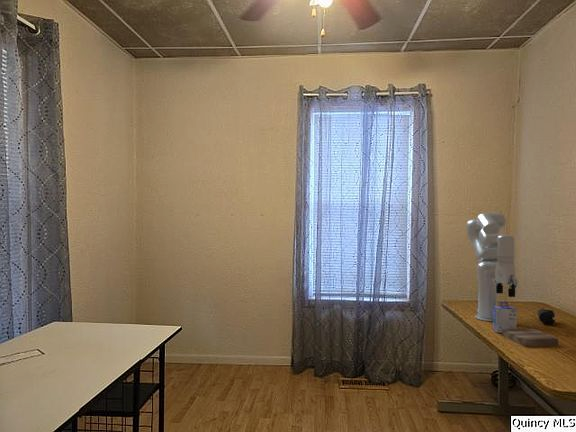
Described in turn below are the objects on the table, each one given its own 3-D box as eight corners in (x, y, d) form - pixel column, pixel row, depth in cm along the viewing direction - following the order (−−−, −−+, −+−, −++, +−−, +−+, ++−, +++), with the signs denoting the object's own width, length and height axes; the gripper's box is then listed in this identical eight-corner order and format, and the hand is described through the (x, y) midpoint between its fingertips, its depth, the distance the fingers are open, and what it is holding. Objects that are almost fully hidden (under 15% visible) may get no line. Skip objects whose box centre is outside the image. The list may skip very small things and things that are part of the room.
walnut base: (502, 335, 201) (502, 329, 201) (533, 334, 202) (533, 328, 202) (524, 346, 185) (524, 339, 185) (558, 345, 186) (558, 338, 186)
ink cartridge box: (513, 331, 209) (514, 302, 209) (517, 334, 204) (517, 304, 203) (492, 329, 211) (492, 301, 211) (495, 332, 206) (495, 303, 205)
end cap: (537, 319, 231) (537, 307, 231) (552, 321, 228) (552, 309, 228) (538, 324, 222) (539, 311, 222) (554, 325, 219) (554, 312, 219)
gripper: (488, 258, 215) (488, 292, 215) (509, 262, 198) (509, 298, 198) (502, 258, 216) (502, 291, 216) (524, 262, 199) (524, 298, 198)
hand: (505, 295), depth 207 cm, fingers open, 9 cm apart
